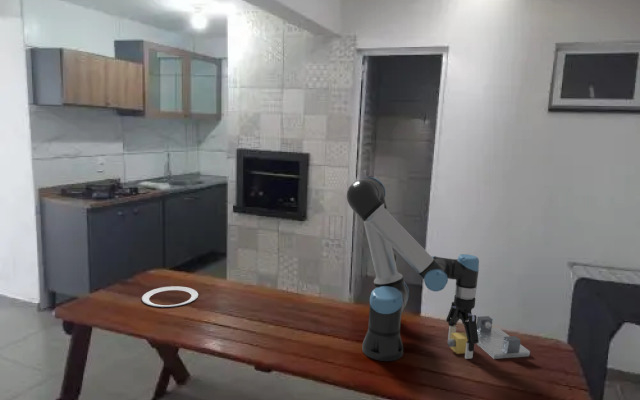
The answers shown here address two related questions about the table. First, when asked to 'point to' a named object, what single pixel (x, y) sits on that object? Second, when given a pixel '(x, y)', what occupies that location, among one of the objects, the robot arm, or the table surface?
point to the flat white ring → (150, 293)
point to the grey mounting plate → (498, 341)
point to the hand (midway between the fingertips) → (459, 349)
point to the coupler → (458, 342)
